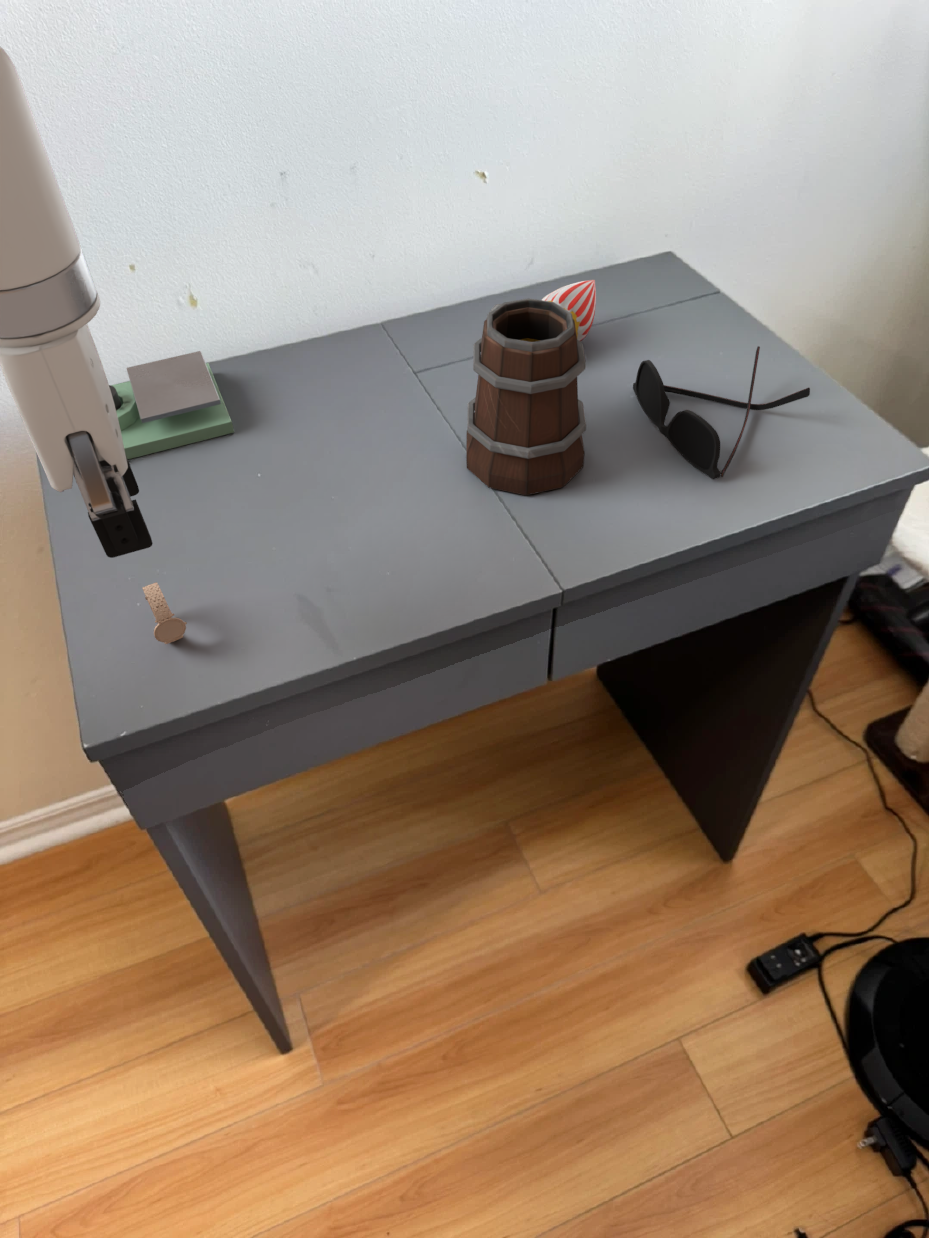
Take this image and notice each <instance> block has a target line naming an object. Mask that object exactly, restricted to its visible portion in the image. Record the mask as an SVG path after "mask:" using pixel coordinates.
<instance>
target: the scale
mask: <svg viewBox="0 0 929 1238" xmlns="http://www.w3.org/2000/svg"><path fill="white" fill-rule="evenodd" d="M205 363H206V365H207V368H208V371H209V373H210V376H211V378H212V381H213V383H214V386H215V388H216V391H217V394H218V396H219V399H220V402H221V404H220V405H215V406H211V407H207V408H203V409H199V410H195V411H191V412H187V413H183V414H179V415H175V416H171V417H167V418H163V419H158V420H154V421H150V422H146V423H142V421H141V418H140V415H139V411H138V408H137V404H136V401H135V397H134V393H133V390H132V386H131V383H130V380H129V381H124V382H119V383H116V384H115V383H114V384H110V385H111V386H113V387H114V388H115V389H116V391H117V393H118V396H119V399H120V401H121V407H120V409H118V410H116V412H117V417H118V421H119V425H120V430H121V435H122V440H123V445H124V450H125V454H126V457H127V459H128V460H131V459H134V458H139V457H143V456H147V455H150V454H155V453H158V452H162V451H166V450H171V449H175V448H179V447H182V446H185V445H186V446H187V445H190V444H195V443H199V442H202V441H206V440H210V439H214V438H219V437H222V436H226V435H230V434H233V433H235V429H234V425H233V422H232V418H231V416H230V414H229V411H228V409H227V407H226V404H225V400H224V398H223V396H222V394H221V391H220V388H219V386H218V384H217V381H216V378H215V376H214V373H213V371H212V368H211V366H210V363H209V362H205Z"/></svg>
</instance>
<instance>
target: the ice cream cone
mask: <svg viewBox="0 0 929 1238" xmlns="http://www.w3.org/2000/svg"><path fill="white" fill-rule="evenodd" d="M541 300H543V301H550V302H554V303H556V304H557V305H559V306H561V307H562V308H564V309H565V310H567V311H568V312H570V313H572V317H573V320H574V321H575V328H576V335H577V340H579V341H581V342H582V341H583V340H584V339H585V338H586V337H587V335H588V333H589V332H590V331H591V328H592V326H593V323H594V319H595V315H596V305H597V304H596V303H597V290H596V280H595V279H589V280H582V281H577V282H574V283H571V284H567V285H563V286H561V287H559V288H557V289H555V290H554V291H552V292H550V293H548V294H547V295H545V296H544V297H543V298H542V299H541Z"/></svg>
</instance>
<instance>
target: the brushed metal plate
mask: <svg viewBox="0 0 929 1238" xmlns="http://www.w3.org/2000/svg"><path fill="white" fill-rule="evenodd" d="M206 363H207V362H206V360H205V358H204V356H203V352H202V351H201V350H197V351H193V352H189V353H185V354H181V355H176V356H172V357H167V358H162V359H159V360H154V361H150V362H146V363H142V364H138V365H133V366H127V367H126V372H127V376H128V379H129V381H130V383H131V386H132V390H133V393H134V397H135V401H136V404H137V408H138V411H139V415H140V418H141V421H142V423H146V422H150V421H154V420H158V419H163V418H167V417H171V416H175V415H179V414H183V413H187V412H191V411H195V410H199V409H203V408H207V407H211V406H215V405H220V404H221V402H220V399H219V396H218V394H217V391H216V388H215V386H214V383H213V381H212V378H211V376H210V373H209V371H208V368H207V365H206Z"/></svg>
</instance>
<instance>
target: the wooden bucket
mask: <svg viewBox="0 0 929 1238" xmlns="http://www.w3.org/2000/svg"><path fill="white" fill-rule="evenodd" d="M472 349H473V350H472V354H473V355H472V356H473V357H472V359H473V360H472V363H473V364H472V366H473V367H472V369H473V372H474V373H475V374H477V384H476V391H475V397H473V399H471V400H470V401H469V402H467V415H466V416H467V417H466V420H467V422H466V423H467V424H466V425H467V427H466V428H467V430H466V445H465V446H466V450H465V451H466V454H465V455H466V456H465V458H466V460H465V461H466V469H467V470H468V471H469V472H470V473H472V474H473V475H474V476H475V477H476V478H477V479H479V481H481V482H482V483H483V484H484V485H485V486H486V487H488V488H489V489H494V490H497V491H498V490H499V491H504V492H508V493H513V494H517V495H522V496H530V495H533V494H540V493H543V492H544V493H545V492H549V491H552V490H556V489H557V490H558V489H563V488H564V487H565V486H566V485H567V484H568V483H569V482H570V481H571V480H572V479H573V478H574V477H575V476H576V475H577V474H578V473H579V472H580V471H581V470H582V469H583V468H584V463H585V462H584V461H585V454H586V453H585V447H584V446H585V445H584V439H583V434H584V433H586V431H587V421H586V415H585V409H584V402H583V401H581V400H580V399H579V394H578V393H579V392H578V391H579V387H578V376H580V375H581V374H582V373H583V372H584V371H585V370H586V364H587V363H586V355H585V350H584V349H585V348H584V345H583V342H582V340H581V341H579V340H577V335H576V328H575V321H574V320H573V317H572V313H570V312H568V311H567V310H565V309H564V308H562V307H561V306H559V305H557V304H556V303H554V302H550V301H543V300H542V299H536V298H529V297H528V298H523V299H517V300H511V301H505V302H503V303H498V304H494V305H493V307H492V308H491V309H490V310H489V312H488V313H487V315H486V319H485V320H484V321H483V327H482V334H481V338H480V339H478V340H477V341H475V342H474V343H473V346H472Z"/></svg>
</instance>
